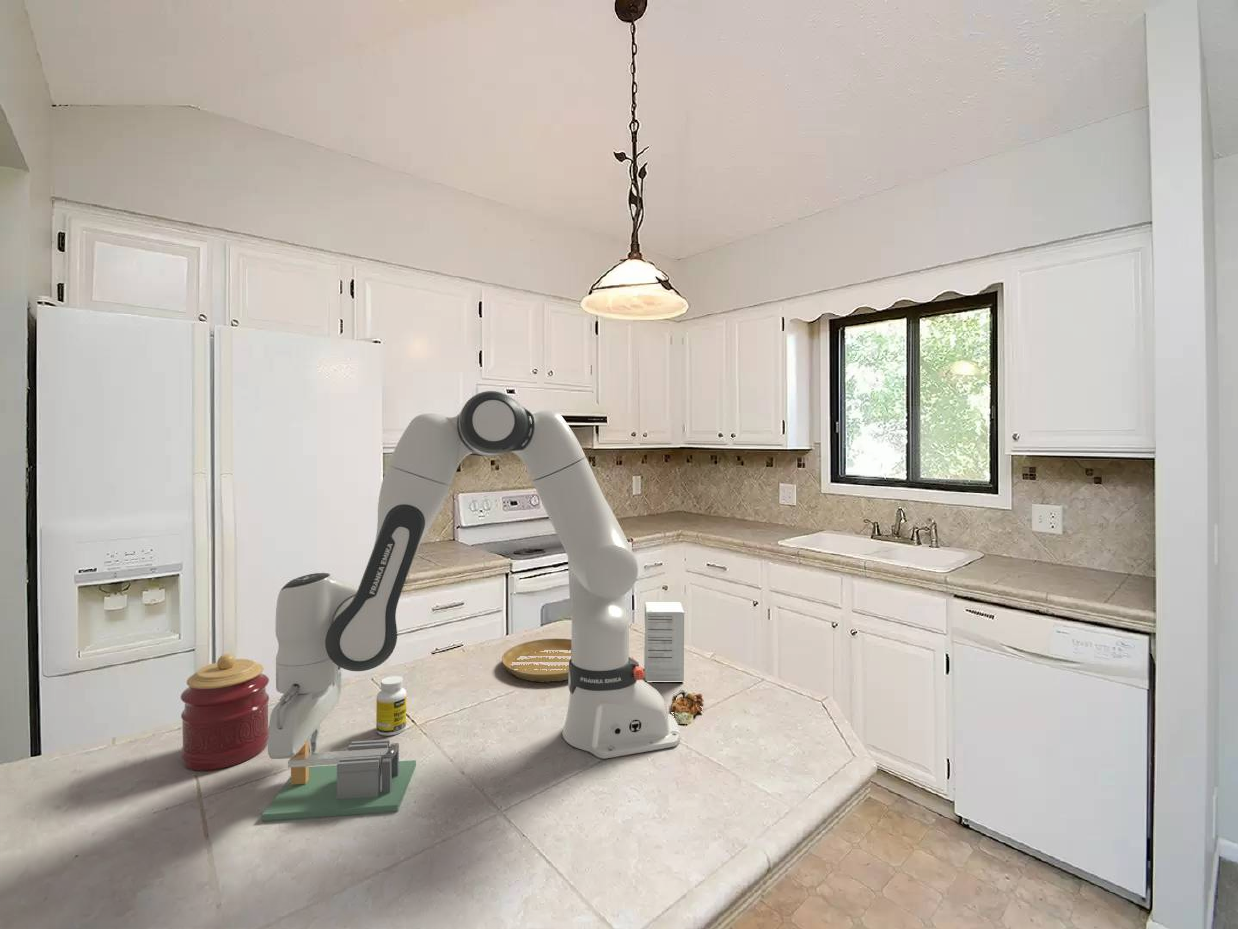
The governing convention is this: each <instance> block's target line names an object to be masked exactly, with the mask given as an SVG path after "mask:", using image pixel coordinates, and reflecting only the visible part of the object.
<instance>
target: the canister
mask: <svg viewBox="0 0 1238 929" xmlns="http://www.w3.org/2000/svg"><path fill="white" fill-rule="evenodd" d="M263 671H264V666H263V665H262V664H260V663H258V662H254V661H253V659H245V658H244V659H243V658H235V657H234V655H232V654H230V653H226V654H222V655H220V657H219V658H218V659H217V661H216V662H214V663H210V664H208V665H205V666H203V667H201V668H200V669H198V670H197V671H196V672H195V673H193V674H192V675H191V676H189V677H188V678H187V680H186V685H187V686H188V687H186V689H184V690H183V691H182V693H181V695H180V701H182V702H183V703H184V709H183V711H182V712H181V715H180V719H181V721H182V722H181V724H182V727H181V728H182V748H181V750H180V751H181V758H182V761H183V765H184V766H185V767H186V768H188V769H190V770H194V771H212V770H214V771H215V770H220V769H224V768H228V767H232V766H235V765H238V764H241V763H243V762H246V761H248V760H250V759H252V758H254V757H255V756H257V755H258V754H260V753H261V752H262V751H264V749H265V748H266V747H268V734H269V700H270V697H269V694H268V693H267V689H266V687H267V686H268V684H269V681H270V679H269V676H268V675H265V674H263Z"/></svg>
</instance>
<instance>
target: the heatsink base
mask: <svg viewBox="0 0 1238 929" xmlns="http://www.w3.org/2000/svg"><path fill="white" fill-rule="evenodd" d="M391 745H396V746H397V748H398V750H397V752H396V754H395V756H394V758H393V760H392V762H391V758H386V759H383V761H381V756H372V757H356V758H341V759H340V762H338V763H337V764H332V765H318V766H309V780H308V781H307V783H306V784H296V785H291V777H290V778H289V779H288V781H287V782H286V783H285V784H284V785H283V787H282V788H281V789H280V791H279V792H278V793H277V795H276V796H274V798H273V800H272V801H271V802H270V803H269V805H268V806H267V808H266V809H265V810H264V811H263V813H262V814H261V817H262V818H261V821H262V822H271V821H285V820H299V819H311V818H315V819H316V818H325V817H327V818H328V817H339V816H341V817H342V816H355V815H366V814H367V815H368V814H381V813H393V812H394V813H395V812H398V811H399V809H400V806H401V803H402V801H403V798H404V796H405V794H406V791H407V788H408V787H409V783H410V782H411V779H412V777H413V774H414V772H415V769H416V766H417V760H416V759H415V760H400V743H399V742H395V743H391V739H390V738H389V739H374V740H357V741H351V742H350V744H349V746H348V747H347V748H348V750H347V751H351V750H366V749H380V748H389V747H390V746H391Z"/></svg>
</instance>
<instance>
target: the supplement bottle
mask: <svg viewBox="0 0 1238 929" xmlns="http://www.w3.org/2000/svg"><path fill="white" fill-rule="evenodd" d="M403 685H404V680H403V677H402V676H397V675H391V676H388V677H387V676H386V677H384V678H383V679H381V680H380V690H379V691H378V692H377V695H376V722H375V723H376V724H375V725H376V728H375V729H376V733H377V734H378V735H380V736H383V737H384V736H385V737H386V736H387V737H389V736H395V735H398V734H400V733H402V732H404V730H406V728H407V691H406V689H405V688H404V687H403Z"/></svg>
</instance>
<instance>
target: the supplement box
mask: <svg viewBox="0 0 1238 929" xmlns="http://www.w3.org/2000/svg"><path fill="white" fill-rule="evenodd" d="M643 658H644V659H643V660H644V661H643V662H644V664H643V666H644V667H643V671H644V674H645V675H644V681H685V678H684V677H685V611H684V609H683V606H682V603H681V602H678V601H677V602H676V601H669V602H668V601H664V602H663V601H662V602H661V601H660V602H659V601H645V602H644V652H643Z"/></svg>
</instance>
